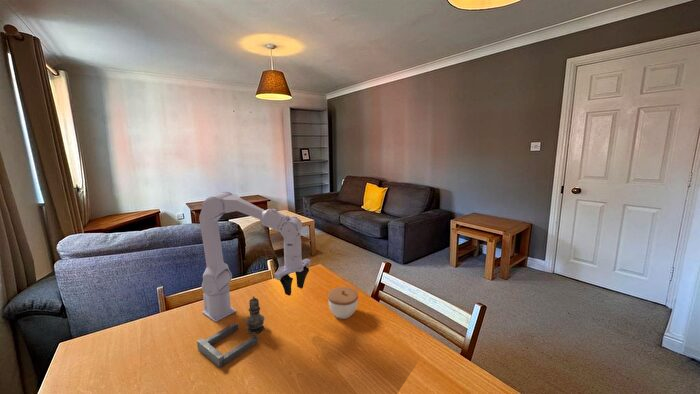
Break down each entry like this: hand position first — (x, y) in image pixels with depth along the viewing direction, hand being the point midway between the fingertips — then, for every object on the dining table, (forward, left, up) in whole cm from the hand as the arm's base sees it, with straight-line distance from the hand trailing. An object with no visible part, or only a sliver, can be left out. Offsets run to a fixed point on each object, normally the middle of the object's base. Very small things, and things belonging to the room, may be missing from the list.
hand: (294, 290), depth 98 cm
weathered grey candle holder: (-6, -12, -11) cm, 17 cm away
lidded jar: (+12, +12, -11) cm, 20 cm away
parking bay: (-6, -22, -10) cm, 25 cm away
